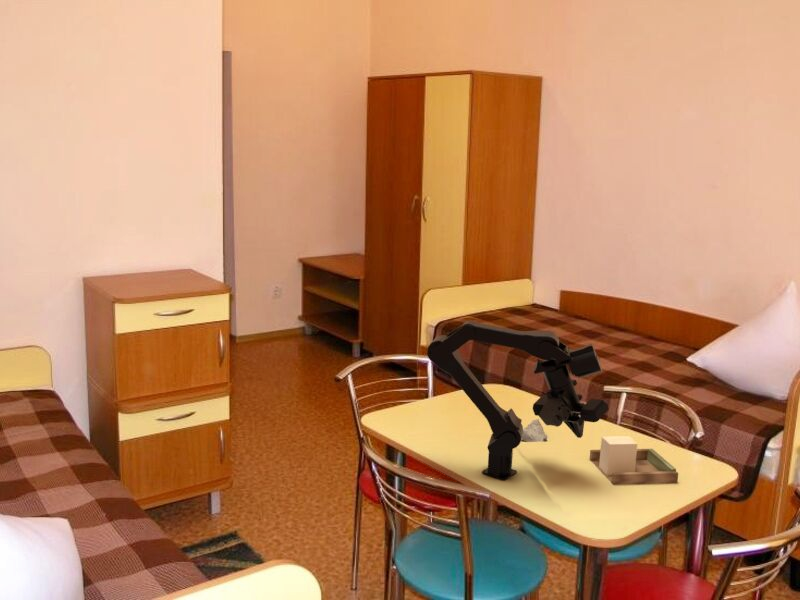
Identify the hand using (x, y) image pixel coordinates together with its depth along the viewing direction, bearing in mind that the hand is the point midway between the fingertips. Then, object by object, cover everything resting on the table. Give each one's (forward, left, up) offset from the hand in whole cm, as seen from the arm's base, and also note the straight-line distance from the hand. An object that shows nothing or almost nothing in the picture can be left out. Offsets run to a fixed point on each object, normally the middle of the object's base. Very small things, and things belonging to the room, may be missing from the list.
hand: (580, 436), depth 189 cm
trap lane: (+9, -10, -10) cm, 17 cm away
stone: (+16, +20, -11) cm, 28 cm away
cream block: (+7, -7, -9) cm, 13 cm away
